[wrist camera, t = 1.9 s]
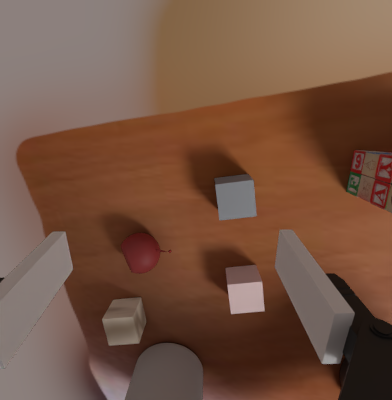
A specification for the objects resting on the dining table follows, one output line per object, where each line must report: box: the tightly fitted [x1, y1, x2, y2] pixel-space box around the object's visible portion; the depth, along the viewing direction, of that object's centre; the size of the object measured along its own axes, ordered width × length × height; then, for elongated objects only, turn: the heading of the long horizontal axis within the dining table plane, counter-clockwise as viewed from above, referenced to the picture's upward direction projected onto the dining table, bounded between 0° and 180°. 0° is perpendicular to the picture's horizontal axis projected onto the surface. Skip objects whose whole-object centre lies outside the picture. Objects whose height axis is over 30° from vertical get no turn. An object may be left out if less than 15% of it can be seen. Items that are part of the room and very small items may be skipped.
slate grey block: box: [214, 174, 256, 220], centre depth 37 cm, size 5×5×5 cm
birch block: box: [102, 297, 147, 346], centre depth 43 cm, size 5×5×5 cm
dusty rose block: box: [225, 265, 265, 314], centre depth 41 cm, size 5×5×5 cm
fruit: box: [121, 233, 171, 273], centre depth 39 cm, size 6×6×8 cm
